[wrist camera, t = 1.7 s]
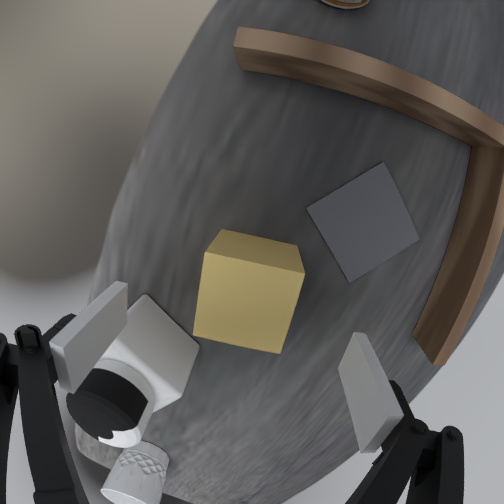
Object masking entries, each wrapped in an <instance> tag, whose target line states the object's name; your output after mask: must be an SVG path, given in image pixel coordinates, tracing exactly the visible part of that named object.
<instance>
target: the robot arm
mask: <svg viewBox="0 0 504 504" xmlns="http://www.w3.org/2000/svg"><path fill="white" fill-rule="evenodd" d="M127 295H128V284H127V283H123V282H120V281H115V282H114V283H113V284H112V285H111V286H109V287H108V288H107V289H106V290H105V291H104V292H103V293H101V294H100V295H99V296H98V297H97V298H96V299H95V300H93V301H92V302H91V303H90V304H89V305H88V306H87V307H86V308H85V309H84V310H82V311H81V312H80V313H79V314H78V315H74V314H69V315H67V316H64V317H63V318H61V319H60V320H59V321H58V323H56V324H55V325H54V326H53V327H52V328H50V329H49V330H48V331H47V332H46V333H45V334H44V335H43V336H42V335H41V331H40V329H39V328H38V327H37V326H35V325H30V324H29V325H28V324H27V325H22V326H20V327H18V328H17V329H16V330H15V333H14V335H15V339H16V343H17V345H13V344H9V343H8V342H7V338H6V336H5V335H4V334H2V333H0V504H6V473H7V460H8V459H7V458H8V449H9V441H10V433H11V426H12V420H13V414H14V409H15V404H16V398H17V394H18V390H19V396H20V408H21V417H22V426H23V433H24V439H25V445H26V450H27V456H28V461H29V465H30V470H31V474H32V477H33V482H34V486H35V492H34V493H33V498H34V502H35V504H89V502H88V499H87V497H86V494H85V492H84V489H83V487H82V484H81V482H80V479H79V476H78V473H77V471H76V467H75V465H74V462H73V458H72V455H71V452H70V449H69V446H68V442H67V438H66V435H65V431H64V427H63V423H62V420H61V415H60V411H59V406H58V401H57V396H56V391H55V387H54V383H55V382H56V381H57V380H58V381H59V384H60V388H62V389H64V390H66V391H68V392H70V393H72V394H74V393H75V391H76V390H77V389H78V387H79V386H80V385H81V383H82V382H83V381H84V379H85V378H86V377H87V375H88V374H89V373H90V371H91V370H92V369H93V367H94V366H95V365H96V363H97V362H98V361H99V359H100V358H101V357H102V355H103V354H104V353H105V352H106V350H107V349H108V348H109V346H110V345H111V344H112V342H113V341H114V340H115V339H116V337H117V336H118V335H119V334H120V332H121V331H122V330H123V329H124V327H125V326H126V325H127ZM338 371H339V374H340V378H341V381H342V385H343V388H344V392H345V396H346V399H347V403H348V407H349V410H350V414H351V418H352V421H353V425H354V429H355V433H356V437H357V441H358V445H359V449H360V453H375V452H376V450H377V449H378V448H379V447H380V446H381V447H382V450H383V452H382V453H381V454H380V455H379V456H378V458H377V459H376V460H375V461H374V462H373V463H372V464H373V466H372V467H371V469H370V471H369V472H368V473H367V475H366V476H365V478H364V479H363V480H362V482H361V483H360V485H359V486H358V488H357V489H356V490H355V491H354V493H353V494H352V495H351V497H350V498H349V499H348V501H347V502H346V503H345V504H396V503H397V502H398V500H399V498H400V496H401V494H402V492H403V490H404V489H405V487H406V485H407V483H408V481H409V479H410V477H411V481H410V485H409V490H408V495H407V500H406V504H463V496H464V446H463V436H462V433H461V432H460V431H459V429H457V428H455V427H453V426H446V427H444V428H443V430H442V431H441V432H436V431H431V430H429V429H428V426H427V425H426V424H425V423H424V422H423V421H421V420H419V419H415V418H414V415H413V413H412V411H411V409H410V407H409V405H408V403H407V401H406V398H405V396H404V395H403V392H402V390H401V388H400V386H399V385H398V384H397V383H396V382H395V381H394V380H388V379H387V377H386V375H385V372H384V370H383V368H382V366H381V364H380V362H379V360H378V358H377V356H376V354H375V352H374V350H373V348H372V346H371V344H370V342H369V340H368V338H367V336H366V334H365V333H359V332H354V333H353V335H352V337H351V340H350V342H349V344H348V347H347V349H346V351H345V353H344V356H343V358H342V360H341V362H340V364H339V366H338Z"/></svg>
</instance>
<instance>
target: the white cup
mask: <svg viewBox="0 0 504 504" xmlns="http://www.w3.org/2000/svg"><path fill="white" fill-rule="evenodd" d="M168 463H169V457H168V455H167V453H165V452H164V451H163V450H162V449H161V448H159V447H157V446H155V445H153V444H151V443H149V442H145V441H142V440H140V442H139V443H138V444H137V445H135V446H132V447H128V448H124V450H123V451H122V454H121V455H120V456H119V457H118V459H117V461H116V463H115V464H114V466H113V468H112V470H111V472H110V474H109V476H108V478H107V479H106V481H105V483H104V485H103V487H102V489H101V492H102V494H103V495H104V496H105V497H106V498H108V499H109V500H110V501H112V502H114V503H115V504H160V499H161V495H162V491H163V487H164V483H165V478H166V471H167V467H168Z"/></svg>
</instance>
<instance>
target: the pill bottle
mask: <svg viewBox="0 0 504 504" xmlns="http://www.w3.org/2000/svg"><path fill="white" fill-rule="evenodd" d="M321 1H323V2H324V3H326V4H329V5H331V6H334V7H338V8H343V9H353V8H360V7H362V6H364V5H366V4H367V3H368V2H369V1H370V0H321Z"/></svg>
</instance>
